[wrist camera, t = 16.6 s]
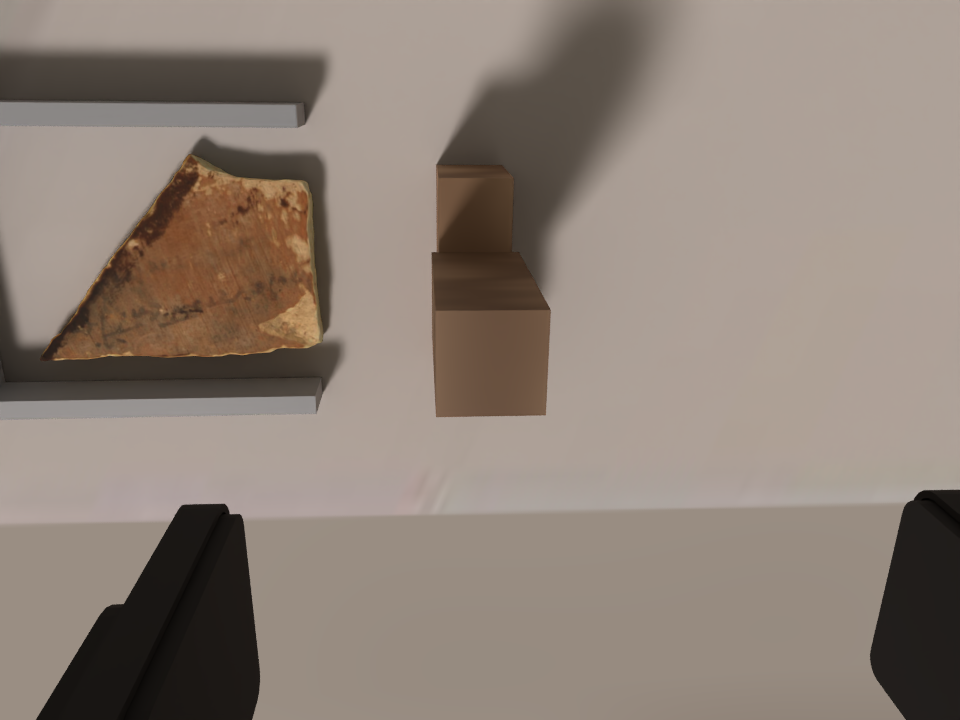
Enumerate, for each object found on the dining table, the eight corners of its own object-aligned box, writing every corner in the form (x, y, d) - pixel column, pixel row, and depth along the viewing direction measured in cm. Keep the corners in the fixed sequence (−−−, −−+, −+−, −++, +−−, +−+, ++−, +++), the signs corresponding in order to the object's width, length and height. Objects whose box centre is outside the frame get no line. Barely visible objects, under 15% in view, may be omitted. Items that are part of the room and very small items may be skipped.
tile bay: (303, 102, 28) (295, 104, 27) (322, 393, 32) (316, 413, 30) (-85, 99, 27) (-122, 101, 26) (-17, 399, 31) (-45, 420, 30)
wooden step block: (508, 164, 30) (555, 213, 19) (503, 361, 33) (542, 495, 22) (429, 164, 30) (435, 213, 19) (431, 362, 32) (436, 498, 22)
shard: (55, 349, 31) (34, 364, 30) (15, 153, 29) (-10, 158, 27) (327, 341, 32) (322, 356, 30) (312, 150, 30) (306, 155, 28)
